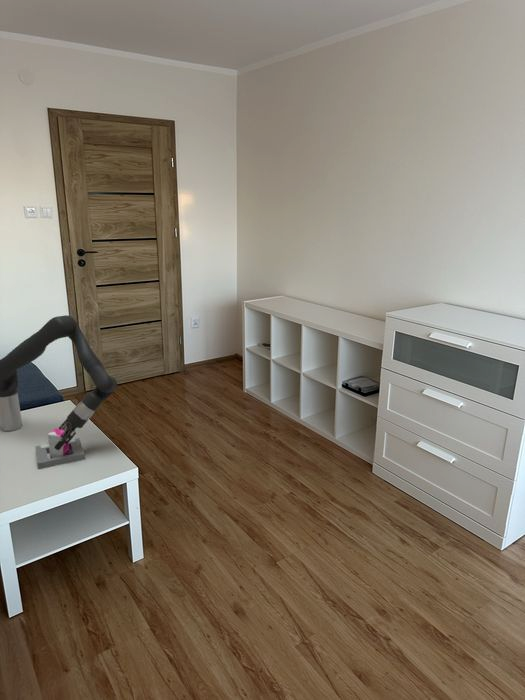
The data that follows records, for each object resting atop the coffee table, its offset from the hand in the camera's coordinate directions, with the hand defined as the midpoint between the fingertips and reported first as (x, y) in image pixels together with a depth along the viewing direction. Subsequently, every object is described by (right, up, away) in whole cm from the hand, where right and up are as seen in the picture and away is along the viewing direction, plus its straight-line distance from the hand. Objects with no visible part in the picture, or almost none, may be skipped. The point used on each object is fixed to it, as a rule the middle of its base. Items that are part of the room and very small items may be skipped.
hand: (55, 444), depth 208 cm
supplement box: (+1, -6, +2) cm, 6 cm away
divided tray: (+1, -5, +2) cm, 6 cm away
